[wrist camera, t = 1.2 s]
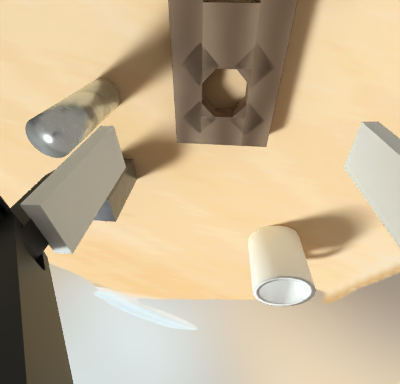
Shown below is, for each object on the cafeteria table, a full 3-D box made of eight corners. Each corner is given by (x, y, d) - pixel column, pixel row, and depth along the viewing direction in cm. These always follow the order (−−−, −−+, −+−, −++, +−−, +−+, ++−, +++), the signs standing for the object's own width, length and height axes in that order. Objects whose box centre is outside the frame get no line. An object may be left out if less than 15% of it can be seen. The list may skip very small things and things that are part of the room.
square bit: (114, 177, 40) (88, 219, 33) (108, 158, 38) (78, 198, 30) (136, 179, 40) (115, 221, 32) (132, 159, 38) (108, 200, 30)
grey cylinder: (95, 109, 33) (37, 156, 23) (86, 78, 30) (17, 116, 20) (122, 110, 32) (76, 158, 22) (116, 79, 30) (61, 118, 20)
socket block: (180, 132, 34) (176, 142, 32) (166, -147, 19) (158, -168, 16) (263, 136, 33) (266, 146, 31) (320, -151, 18) (334, -174, 16)
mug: (321, 248, 48) (340, 300, 39) (281, 268, 53) (291, 317, 45) (275, 217, 43) (287, 268, 35) (237, 242, 49) (240, 291, 40)
